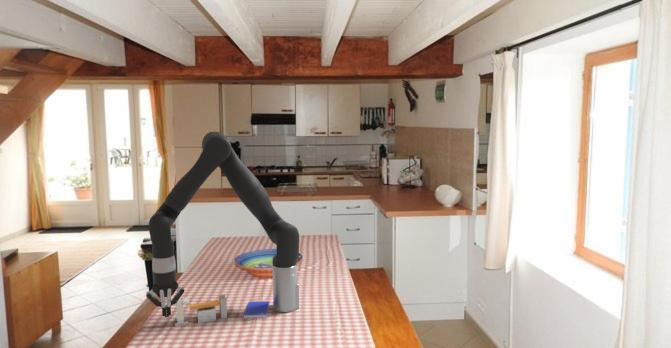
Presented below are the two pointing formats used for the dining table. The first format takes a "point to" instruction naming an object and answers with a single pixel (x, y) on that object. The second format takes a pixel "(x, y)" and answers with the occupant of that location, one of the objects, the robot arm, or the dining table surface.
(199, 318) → the heatsink
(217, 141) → the robot arm
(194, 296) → the dining table surface
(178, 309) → the block
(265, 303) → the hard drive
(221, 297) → the board
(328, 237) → the dining table surface
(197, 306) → the orange bar
